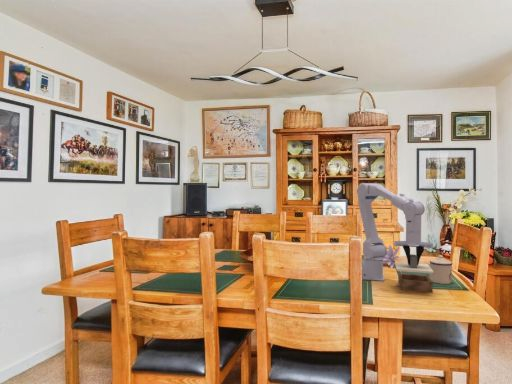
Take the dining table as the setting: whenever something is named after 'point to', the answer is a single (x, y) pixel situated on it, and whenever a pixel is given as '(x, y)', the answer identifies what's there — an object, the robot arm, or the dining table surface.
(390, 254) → the water lily
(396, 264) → the cream lid
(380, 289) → the dining table surface
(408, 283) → the walnut box
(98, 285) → the dining table surface
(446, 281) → the teacup with lid
